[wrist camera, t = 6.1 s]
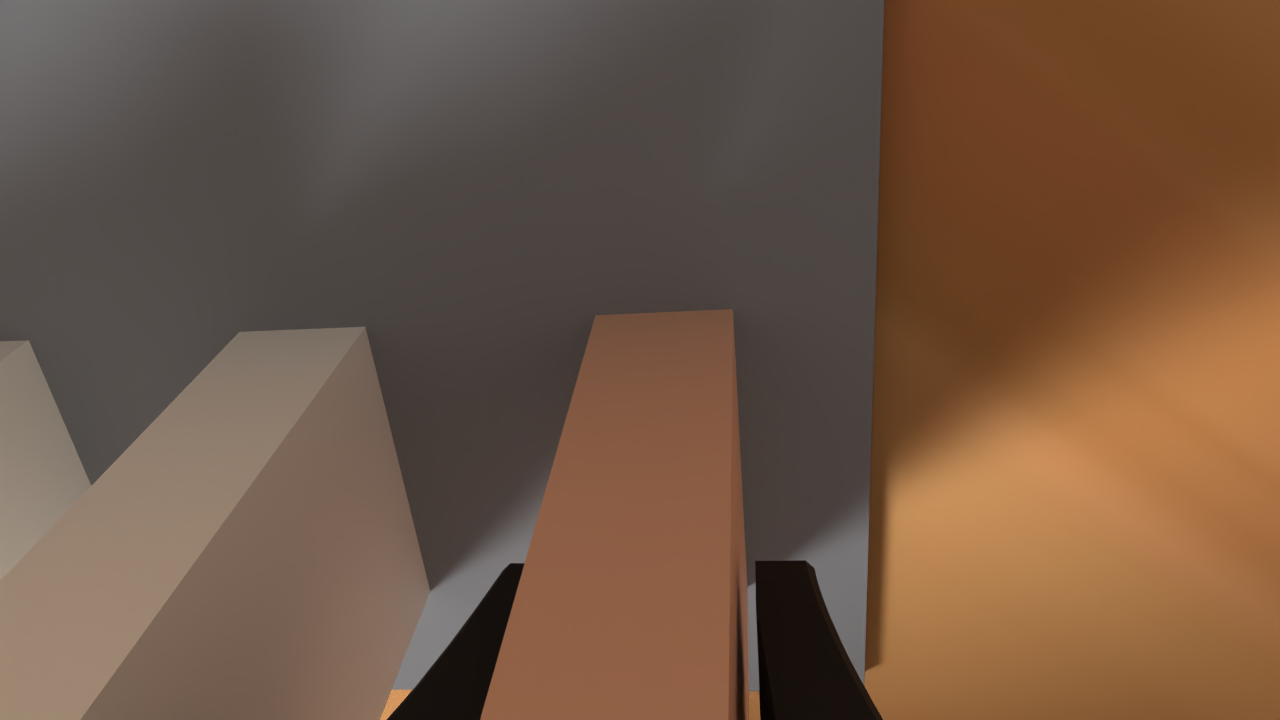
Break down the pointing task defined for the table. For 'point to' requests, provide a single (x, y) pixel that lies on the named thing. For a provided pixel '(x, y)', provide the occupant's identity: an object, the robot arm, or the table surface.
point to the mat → (461, 234)
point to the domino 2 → (637, 538)
